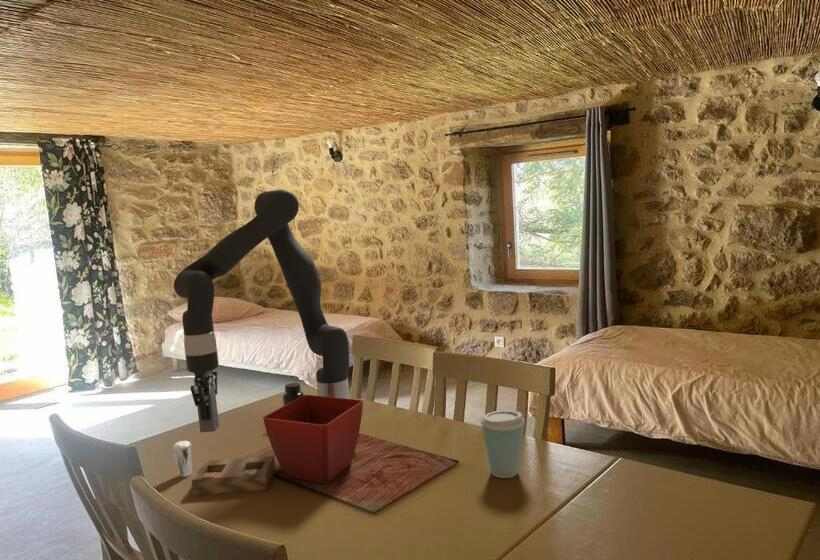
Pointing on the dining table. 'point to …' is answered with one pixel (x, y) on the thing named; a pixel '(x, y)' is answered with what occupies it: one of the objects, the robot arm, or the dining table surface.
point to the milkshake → (183, 458)
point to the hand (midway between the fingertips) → (208, 416)
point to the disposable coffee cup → (503, 441)
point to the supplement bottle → (292, 393)
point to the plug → (213, 422)
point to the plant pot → (315, 436)
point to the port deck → (234, 475)
